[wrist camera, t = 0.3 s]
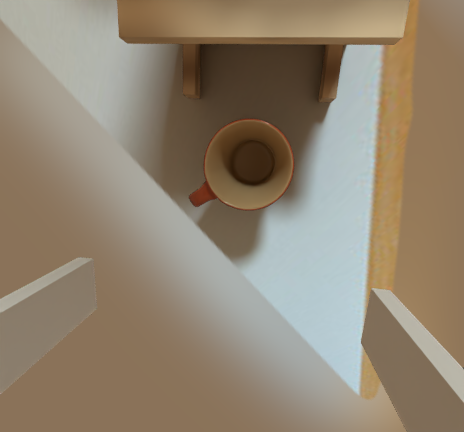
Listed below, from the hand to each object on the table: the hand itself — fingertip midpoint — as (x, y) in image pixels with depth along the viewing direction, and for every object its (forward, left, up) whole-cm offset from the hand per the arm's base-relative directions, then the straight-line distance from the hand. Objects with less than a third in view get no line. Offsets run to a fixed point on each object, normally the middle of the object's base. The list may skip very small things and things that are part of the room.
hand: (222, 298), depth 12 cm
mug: (-4, -1, -25) cm, 25 cm away
